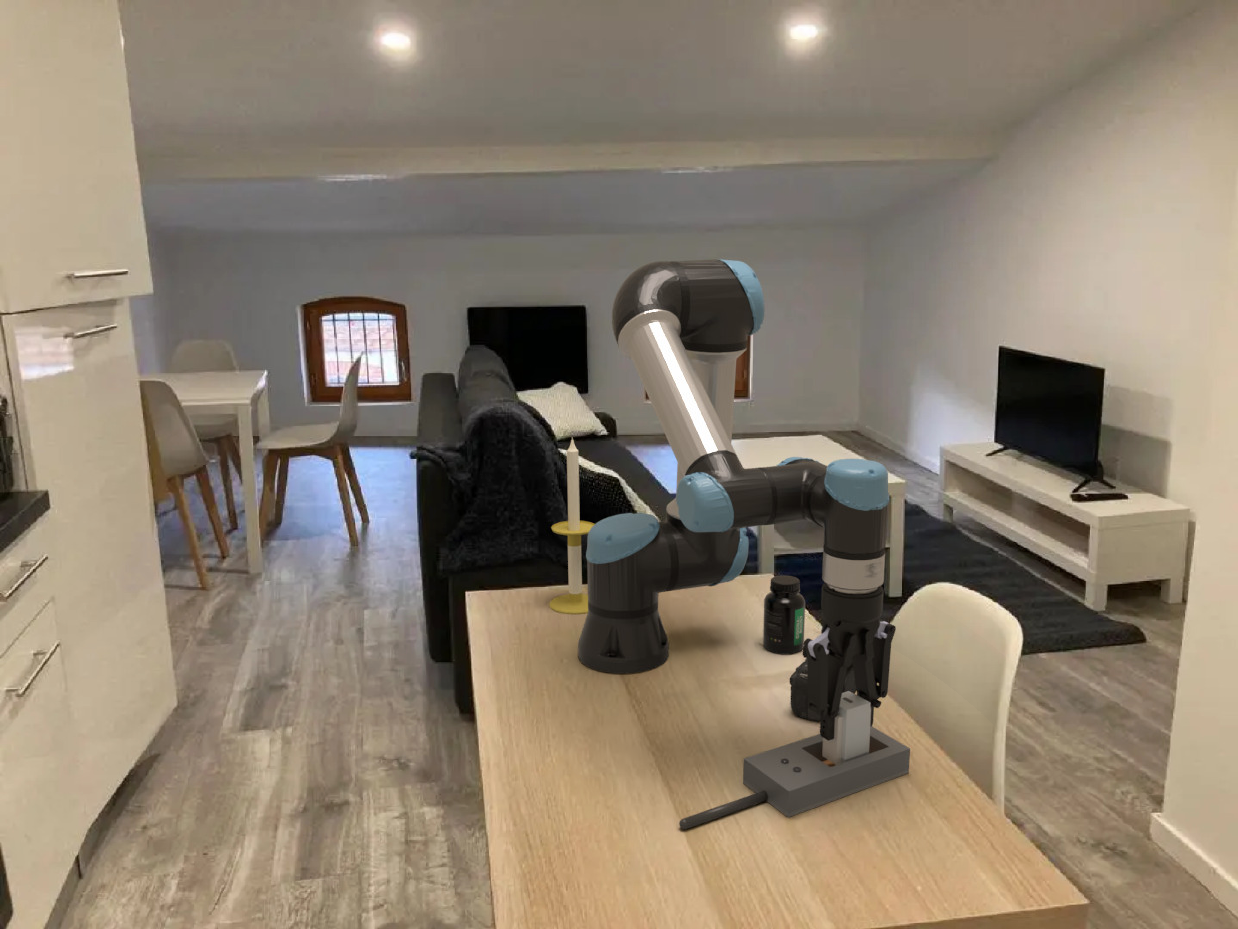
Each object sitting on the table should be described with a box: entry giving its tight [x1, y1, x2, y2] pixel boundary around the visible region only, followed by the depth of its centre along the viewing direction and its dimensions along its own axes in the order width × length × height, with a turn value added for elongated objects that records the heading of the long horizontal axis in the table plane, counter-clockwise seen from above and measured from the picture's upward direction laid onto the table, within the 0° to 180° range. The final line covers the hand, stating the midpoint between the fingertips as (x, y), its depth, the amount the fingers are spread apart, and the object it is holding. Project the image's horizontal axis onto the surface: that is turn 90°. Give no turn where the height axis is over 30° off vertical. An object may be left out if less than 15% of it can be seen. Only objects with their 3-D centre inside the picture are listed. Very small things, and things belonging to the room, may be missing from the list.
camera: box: [789, 644, 857, 723], centre depth 150 cm, size 13×10×10 cm
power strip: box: [678, 725, 911, 830], centre depth 127 cm, size 33×9×4 cm, turn 120°
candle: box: [549, 436, 596, 615], centre depth 188 cm, size 10×10×32 cm
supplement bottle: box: [762, 574, 806, 655], centre depth 170 cm, size 7×7×12 cm
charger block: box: [838, 691, 871, 763], centre depth 130 cm, size 4×4×8 cm
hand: (845, 754), depth 131 cm, fingers closed on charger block, 4 cm apart
